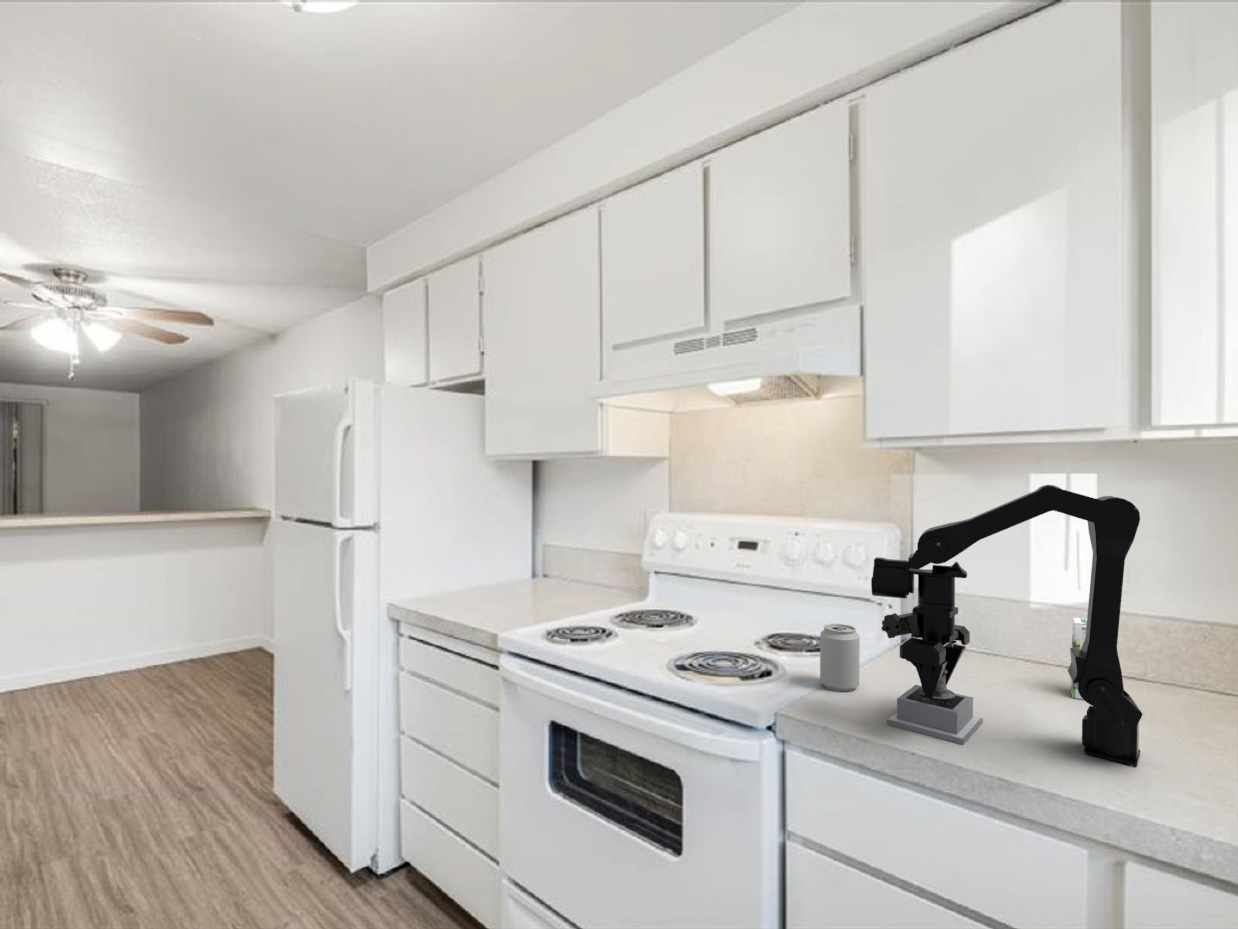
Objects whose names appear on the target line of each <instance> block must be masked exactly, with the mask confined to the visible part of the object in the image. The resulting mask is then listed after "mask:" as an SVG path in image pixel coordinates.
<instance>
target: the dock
mask: <svg viewBox="0 0 1238 929" xmlns="http://www.w3.org/2000/svg"><path fill="white" fill-rule="evenodd" d="M920 687H922V685H920V684H919V685H918V684H915V685H913V686H912V687H910V688H909V689H908V690H907V691H905V692H904V693H903V694H901V695H900V696H898V697H897V698H896V712H894V713H892V715H891V716H889V717H888V718H887V719H886V725H888V726H891V727H896V728H900V729H903V730H907V731H911V732H915V733H918V734H922V735H926V736H930V737H933V738H936V739H940V740H945V741H949V742H952V743H955V744H960V745H964V744H965V743H966V742H967V741H968V740H969V739H970V738H971V736H973V734H974V733H975V732H976V731H977V730H978V729H979V728H980V727H981V726H982V724H983V722H984V721H983V720H984V719H983V717H980V716H977V715H974V697H972V696H968V695H964V694H959V693H954V692H953V693H954V694H955V697H954V698H953V701H952V704H951V705H950V706H949V707H948V708H944V707H939V706H935V705H931V704H927V703H923V702H922V701H921V699H920V697H919V693H918V692H917V689H918V688H920Z"/></svg>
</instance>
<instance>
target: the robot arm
mask: <svg viewBox="0 0 1238 929" xmlns="http://www.w3.org/2000/svg"><path fill="white" fill-rule="evenodd" d="M1052 511H1053V512H1057V513H1060V514H1065V515H1068V516H1069V517H1070V516H1071V517H1073V518H1077V519H1080V520H1084V521H1086V522H1087V527H1088V535H1089V539H1090V540H1089V541H1090V545H1091V549H1092V561H1091V570H1090V571H1091V572H1090V573H1091V574H1090V581H1089V582H1090V584H1089V594H1088V606H1087V617H1086V618H1087V626H1086V637H1085V641H1084V643H1083V645H1082V647H1081V649H1080V650H1077V649H1074V648H1072V647H1070V648H1069V651H1070V652H1069V653H1070V654H1069V655H1070V660H1071V661H1070V665H1069V667H1068V669H1067V672H1068V675H1069V676H1070V680H1071V679H1072V681H1073V683H1074V684H1075V685H1076V688H1077V690H1078V692H1079V694H1080V696H1081V697H1082V698H1083V699H1084V700H1083V701H1084V702H1086V703H1087V704H1089V706H1088V707H1087V710H1086V714H1085V715H1084V716H1083V717H1082V720H1081V745H1082V746H1083V747H1084V750H1083V753H1084V754H1086V755H1089V756H1094V757H1097V758H1100V759H1101V758H1102V759H1105V760H1110V761H1113V762H1118V763H1122V764H1126V765H1130V766H1134V767H1137V766H1138V763H1139V760H1140V756H1141V749H1140V747H1139V743H1140V740H1139V736H1140V735H1139V734H1140V732H1139V731H1140V730H1139V729H1140V722H1141V720H1142V717H1143V712H1142V711H1141V710H1140V708H1139V706H1138V705H1137V704H1136V702H1135V701H1134V699H1133V698H1132V696H1131V695H1130V694H1129V693H1128V692H1127V691H1126V690H1125V688H1124V681H1123V674H1122V668H1121V662H1120V657H1119V653H1118V640H1119V639H1118V638H1119V629H1120V628H1119V626H1120V620H1121V619H1120V618H1121V605H1122V596H1123V586H1124V573H1125V562H1126V558H1127V555H1128V553H1129V551H1130V549H1131V547H1132V545H1133V544H1134V541H1135V537H1136V535H1137V532H1138V528H1139V524H1140V520H1141V514H1140V511H1139V508H1137V506H1136V505H1135V504H1134V503H1132V502H1131V501H1129V500H1127V499H1125V498H1122V497H1116V496H1114V495H1113V496H1112V495H1105V496H1100V497H1097V498H1096V497H1095V498H1094V497H1092V496H1091V497H1090V496H1087V495H1085V494H1080V493H1078V492H1077V493H1076V492H1073V491H1069V490H1065V489H1062V488H1061V487H1059V486H1058V485H1057V486H1056V485H1053V484H1045V485H1041V486H1040V487H1038V488H1036V489H1035V490H1034V491H1031V492H1029V493H1027V494H1024V495H1022V496H1019V497H1018V498H1015V499H1013V500H1010V501H1008V502H1006V503H1003V504H1000V505H998V506H996V507H994V508H990V509H989V510H986V511H984V512H981V513H980V514H978V515H975V516H973V517H970V518H967V519H963V520H960V521H954V522H949V523H945V524H941V525H937V526H933V527H930V528H927V529H926V530H924V531H923V532H922V533H921V535H920V537H919V539H918V541H917V543H916V544H917V549H916V550H915V552H914V553H913V554H910V555H909V556H908V557H907V558H908V559H907V560H906V559H904V560H903V559H890V558H885V557H879V556H878V557H875V558H874V559H873V568H872V576H871V582H870V583H871V595H872V596H875V597H882V598H883V597H884V598H885V597H886V598H893V599H894V598H895V599H906V600H907V598H908V596H910V594H914V593H915V575H916V576H917V605H915V606H914V607H913V608H912V612H908V613H903V614H897V613H891V614H885V615H884V617H883V620H882V621H881V625H882V626H881V630H882V632H885V633H886V636H887V638H888V639H894V638H896V637H897V636H898V637H899V636H904V635H910V634H911V638H909V639H907V640H906V641H904V642H903V643H902V644H901V645H899V658H900V659H903V660H906V661H907V662H910V663H911V664H912V665H913V666H914V667H915V669H916V671H917V674H918V677H919V682H920V684H921V685H920V686H922V688H923V692H924V695H925V697H926V698H930V699H932V698H933V696H934V693H935V691H936V689H937V686H938V684H939V681H940V679H941V676H942V674H943V671H944V669H946V670H947V671H948V672H947V673H946V687H947V686H948V683H949V682H950V679H951V678H952V675H953V674H954V671H955V669H956V667H957V665H958V663H959V661H960V660H961V657H962V656H963V653H964V651H965V650H966V646H967V645H968V644H969V643H970V640H971V639H970V636H971V635H970V634H971V633H970V631H969V630H968V629H967V628H966V627H965V625H958V624H956V618H955V616H956V615H958V614H959V607H958V606H956V603H955V602H956V579H957V578H959V579H966V578H967V577H968V572H967V571H966V570H965V569H964V568H963V567H961V565H960V563H959V561H954V563H953V564H952V565H940V564H944V563H947V562H948V561H950V560H952V559H953V558H955V557H956V556H959V554H961V553H963V552H964V551H965V550H967V549H968V548H971V546H973V545H974V544H977V542H979V541H981V540H983V539H985V538H988V537H990V536H993V535H994V534H995V535H996V534H997V533H1000V532H1003V531H1005V530H1007V529H1010V528H1013V527H1015V526H1017V525H1020V524H1022V523H1025V522H1027V521H1029V520H1031V519H1034V518H1037V517H1039V516H1042V515H1044V514H1046V513H1049V512H1052ZM930 564H933V565H932V569H924V567H926V566H928V565H930ZM922 568H923V569H922ZM958 641H960V643H961V645H960V644H958Z"/></svg>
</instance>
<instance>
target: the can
mask: <svg viewBox="0 0 1238 929" xmlns="http://www.w3.org/2000/svg"><path fill="white" fill-rule="evenodd" d="M819 637H820V640H819V641H820V642H819V643H820V644H819V647H820V648H819V651H820V652H819V654H820V655H819V657H820V658H819V681H820V682H821V683H822V685H823V686H824V687H825V688H826V689H828V690H830V691H835V692H851V691H854V690H856V688H857V687H859V686H860V655H861V654H860V650H861V649H860V648H861V647H860V643H861V642H860V639H861V638H860V635H859V633H858V632H857V628H856V627H855V626H854V625H849V624H844V623H828V624H825V625H823V630H822V631H820V634H819Z"/></svg>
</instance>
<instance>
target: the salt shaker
mask: <svg viewBox="0 0 1238 929" xmlns="http://www.w3.org/2000/svg"><path fill="white" fill-rule="evenodd" d="M947 672H948V671H947V670H946V669H944V671H943V674H942V676H941V679H940V681H939V684H938V686H937V689H936V691H935V693H934V696H933V698H932V699H930V698H926V697H925V695H924V692H923V688H922V687H920V688H918V689H917V692H918V693H919V697H920V699H921V701H922V702H923V703H927V704H931V705H935V706H939V707H944V708H948V707H949V706H950V705H951V704H952V701H953V698H954V697H955V694H954V692H953V691H952V690H949V689H948V688H947V686H946V673H947Z"/></svg>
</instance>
